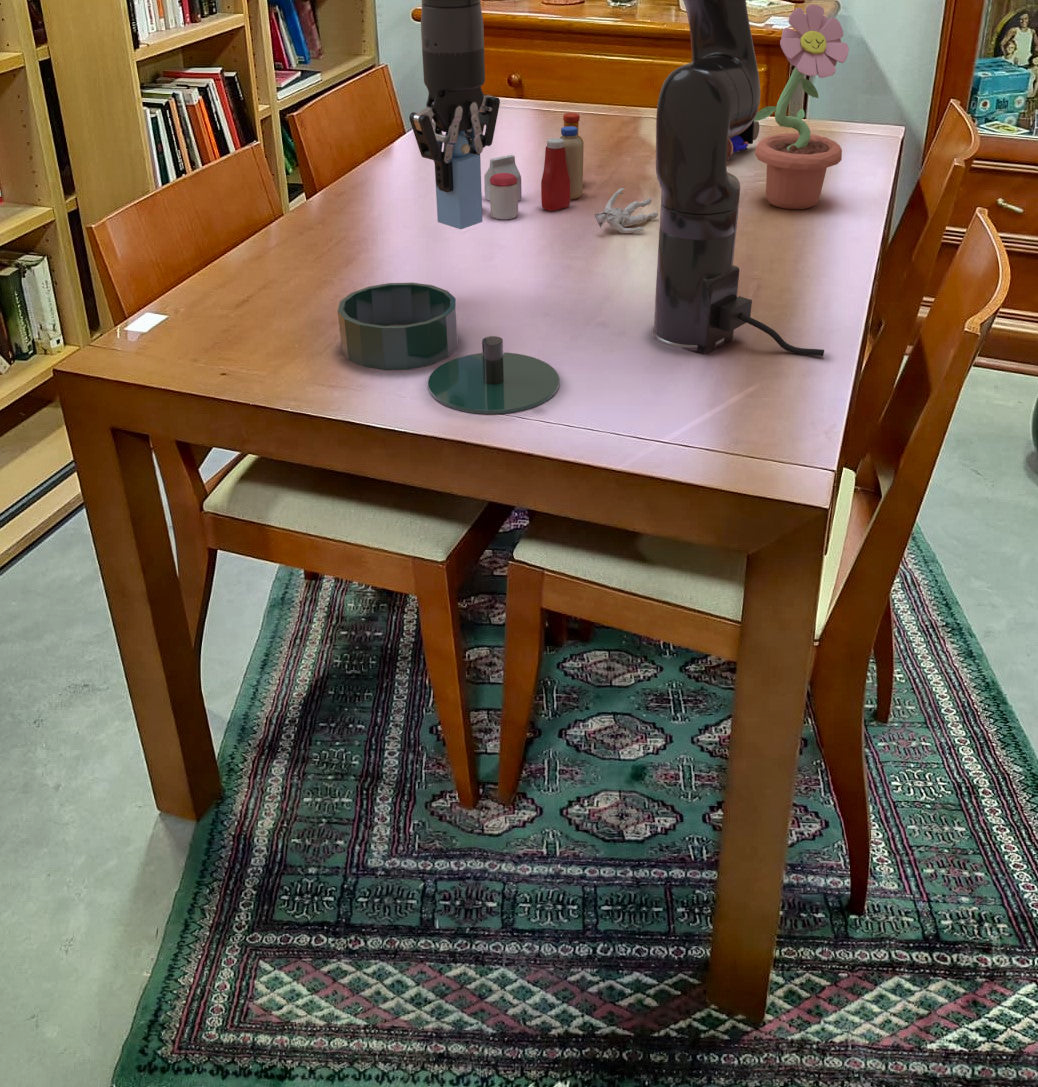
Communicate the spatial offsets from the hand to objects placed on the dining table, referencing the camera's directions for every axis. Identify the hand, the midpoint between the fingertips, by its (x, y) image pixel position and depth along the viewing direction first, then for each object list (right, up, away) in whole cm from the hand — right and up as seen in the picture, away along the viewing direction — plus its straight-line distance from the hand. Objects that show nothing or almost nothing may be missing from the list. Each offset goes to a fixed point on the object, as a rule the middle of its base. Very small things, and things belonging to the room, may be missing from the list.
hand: (458, 186), depth 146 cm
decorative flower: (+53, +10, +43) cm, 69 cm away
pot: (-7, -22, -3) cm, 23 cm away
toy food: (+10, +11, +45) cm, 47 cm away
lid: (+5, -27, -13) cm, 31 cm away
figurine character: (+47, +27, +66) cm, 86 cm away
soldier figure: (+25, +4, +34) cm, 42 cm away
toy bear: (0, -4, +3) cm, 5 cm away
